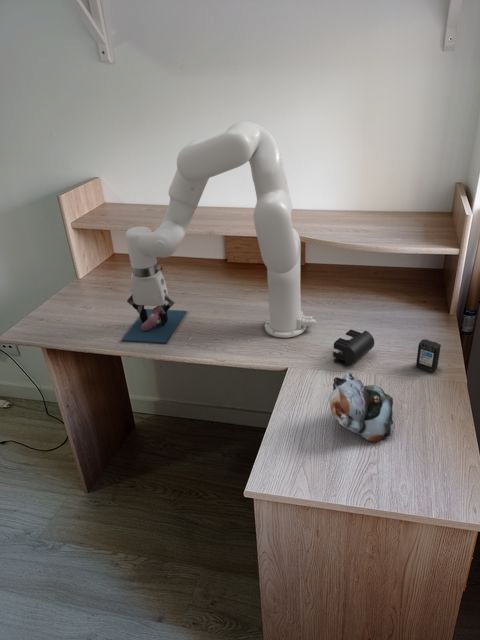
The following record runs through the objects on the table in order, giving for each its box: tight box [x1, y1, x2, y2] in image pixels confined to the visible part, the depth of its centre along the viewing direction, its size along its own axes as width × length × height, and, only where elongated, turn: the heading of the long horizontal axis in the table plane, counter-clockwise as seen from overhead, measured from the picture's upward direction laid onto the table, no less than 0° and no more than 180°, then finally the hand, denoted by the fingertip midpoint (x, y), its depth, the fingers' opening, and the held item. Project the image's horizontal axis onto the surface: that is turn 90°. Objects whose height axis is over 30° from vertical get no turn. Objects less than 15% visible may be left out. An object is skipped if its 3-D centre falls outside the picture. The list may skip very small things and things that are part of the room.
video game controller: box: [141, 306, 161, 331], centre depth 161 cm, size 10×5×7 cm, turn 168°
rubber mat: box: [121, 308, 187, 345], centre depth 163 cm, size 14×20×1 cm
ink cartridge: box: [415, 338, 442, 374], centre depth 134 cm, size 5×2×8 cm, turn 51°
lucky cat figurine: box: [328, 372, 395, 443], centre depth 115 cm, size 15×12×14 cm
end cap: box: [332, 329, 375, 367], centre depth 140 cm, size 10×7×7 cm
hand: (154, 322), depth 162 cm, fingers closed on video game controller, 5 cm apart
